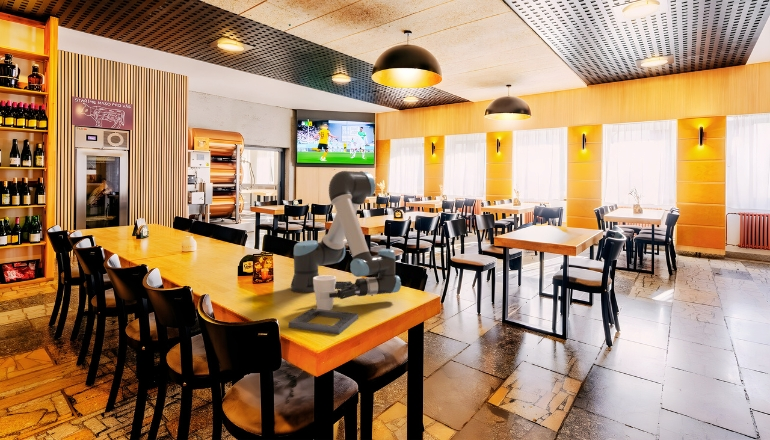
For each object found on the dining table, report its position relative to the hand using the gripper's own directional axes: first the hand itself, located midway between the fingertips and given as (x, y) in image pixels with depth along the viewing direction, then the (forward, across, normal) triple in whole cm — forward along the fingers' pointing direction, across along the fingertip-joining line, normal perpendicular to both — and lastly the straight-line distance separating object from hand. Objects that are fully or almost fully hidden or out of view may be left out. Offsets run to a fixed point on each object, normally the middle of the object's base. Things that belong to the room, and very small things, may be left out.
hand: (316, 291), depth 164 cm
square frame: (+1, -17, -8) cm, 19 cm away
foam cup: (-3, 0, -8) cm, 8 cm away
